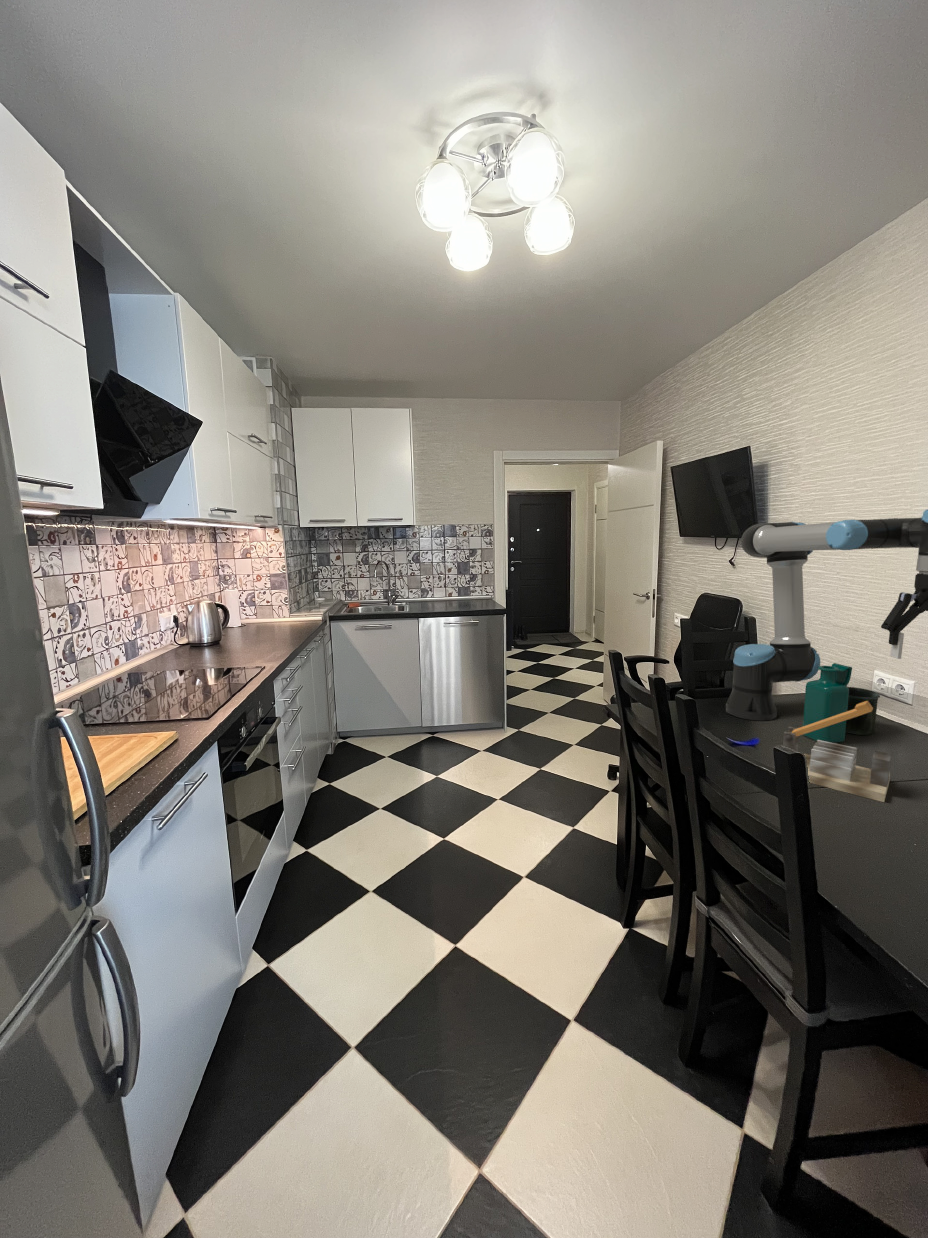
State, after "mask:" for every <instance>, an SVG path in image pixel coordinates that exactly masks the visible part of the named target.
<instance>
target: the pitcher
mask: <svg viewBox="0 0 928 1238" xmlns="http://www.w3.org/2000/svg"><path fill="white" fill-rule="evenodd" d="M817 668H818V669H819V670H818V671H820V675H819V678H818V679H815V680H809V681H808V682H806V684H805V691H804V703H803V704H804V705H803V718H802V727H803V726H806V725H809V724H812V723H815V722H818V721H821V720H824V719H827V718H829V717H832V716H835V715H838V714H841V713H844V712H847V710H848V698H849V689H848V687H849V686H848V685H849V683H850V681H851V677H852V673H853V667H852V666H849V665H845V664H840V663H837V662H833V663H832V664H831V665H820V666H818V667H817ZM846 721H847V720H845V721H842V722H839V723H836V724H833V725H830V726H827V727H824V728H821V729H818V730H815V731H812V732H809V733H806V734H803V735H802V736H804V737H806V738H809V739H810V740H813V741H815V742H817V740H821V741H826V742H831V743H836V744H838V743H842V742H844V741H845V740H846V733H847V732H846Z"/></svg>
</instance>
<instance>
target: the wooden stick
mask: <svg viewBox="0 0 928 1238" xmlns="http://www.w3.org/2000/svg"><path fill="white" fill-rule="evenodd" d="M872 710H873V707H872V706H871V704H870V703H869V702H868V701H865V702H862V703H859V704H857V705H856V706H855V709H853V710H850V711H847V712H844V713H841V714H838V715H835V716H832V717H829V718H827V719H824V720H821V721H818V722H815V723H812V724H809V725H806V726H803V725H802V726H800V727H796V728H797V729H795V730H793V731H792V732H791V733H794V734H796V737H797V736H799V737H800V736H804V735H803V734H806V733H809V732H812V731H815V730H818V729H821V728H824V727H827V726H830V725H833V724H836V723H839V722H842V721H845V720H848V719H851V718H854V717H857V716H860V715H863V714H866V713H869V712H872Z"/></svg>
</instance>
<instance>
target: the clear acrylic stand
mask: <svg viewBox="0 0 928 1238" xmlns="http://www.w3.org/2000/svg"><path fill="white" fill-rule="evenodd" d="M797 728H798V727H793V726H788V727H787V731H784V732H783V741H782V742H783V743H782V747H783V746H785V747H788V748H791V749H793V750H796V751H798V752H799V745H800V736H797V737H796V734H794V733H791V732H792V731H793V730H795V729H797ZM857 750H858V747H854V746H849V745H844V744H839V743H831V742H826V741H821V740H817V741H816V742H815V744H814V745H813V747H812V748H811V750H810V754H807V753H804V755H805V757H806V760H807V767H808V776H809V782H810V784H814V785H817V786H821V787H826V788H828V789H829V788H830V789H832V790H835V791H839V792H844V793H849V794H851V795H855V796H857V797H858V796H860V797H862V798H866V799H870V800H874V801H878V802H881V803H885V801H886V797H887V794H888V793H887V792H888V789H889V785H890V782H891V781H890V780H891V773H890V772H891V764H892V763H891V762H892V753H887V752H884V751H879V750H874V752H873V755H872V758H871V768H868V767H864V766H859V765H857ZM809 782H808V783H809Z"/></svg>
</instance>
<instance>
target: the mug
mask: <svg viewBox="0 0 928 1238" xmlns="http://www.w3.org/2000/svg"><path fill="white" fill-rule="evenodd" d="M847 687H848V689H849V698H848V710H847V711H850V710H853V709H855V706H856V705H857V704H859V703H862V702H865V701H868V702H869V703H870V704H871V706H872V707H873V710H872V712H869V713H866V714H863V715H860V716H857V717H854V718H851V719H848V720H847V721H846V732H845V733H847V734H852V735H857V736H859V735H860V736H870V735H872V734H874V733H875V728H876V721H877V707H878V700H879V699H880V698H881V695H880V694H879V693H878V692H876V691H874V690H870V689H866V688H861V687H854V686H853V687H852V686H847Z"/></svg>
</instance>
